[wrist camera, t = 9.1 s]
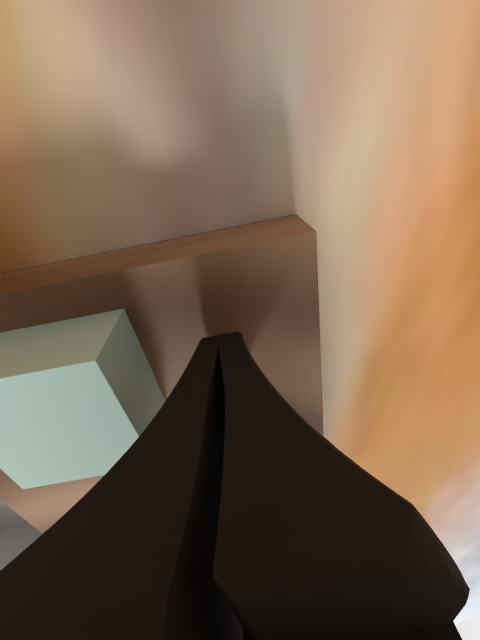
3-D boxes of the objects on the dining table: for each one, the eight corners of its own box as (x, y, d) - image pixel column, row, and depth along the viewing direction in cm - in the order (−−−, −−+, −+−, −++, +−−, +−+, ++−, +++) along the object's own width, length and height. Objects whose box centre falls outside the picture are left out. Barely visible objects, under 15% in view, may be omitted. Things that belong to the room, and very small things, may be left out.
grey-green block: (167, 404, 12) (156, 465, 9) (59, 424, 12) (22, 489, 9) (124, 308, 9) (94, 360, 7) (-11, 334, 9) (-82, 394, 7)
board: (314, 474, 19) (325, 513, 17) (84, 513, 20) (69, 556, 18) (296, 214, 10) (315, 231, 8) (-122, 298, 11) (-200, 333, 9)
